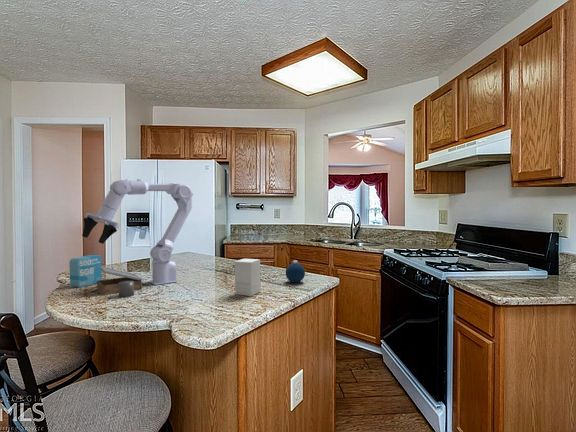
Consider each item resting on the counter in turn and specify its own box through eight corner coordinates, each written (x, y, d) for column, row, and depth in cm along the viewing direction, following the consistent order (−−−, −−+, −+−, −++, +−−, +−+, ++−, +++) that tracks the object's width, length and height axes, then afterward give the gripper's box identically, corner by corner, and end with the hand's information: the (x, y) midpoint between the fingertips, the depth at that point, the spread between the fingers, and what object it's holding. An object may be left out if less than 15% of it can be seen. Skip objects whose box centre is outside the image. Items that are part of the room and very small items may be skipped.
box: (133, 283, 144) (133, 276, 144) (141, 289, 135) (141, 280, 135) (96, 289, 136) (96, 280, 136) (102, 295, 126) (102, 286, 126)
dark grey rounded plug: (132, 293, 130) (131, 280, 130) (135, 295, 126) (135, 282, 125) (117, 295, 126) (117, 282, 126) (120, 298, 122) (120, 284, 122)
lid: (133, 275, 144) (134, 273, 145) (141, 280, 135) (142, 278, 135) (98, 268, 136) (99, 266, 136) (104, 273, 127) (105, 270, 127)
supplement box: (261, 291, 130) (261, 259, 130) (251, 296, 124) (251, 262, 123) (245, 289, 133) (244, 258, 133) (234, 294, 127) (234, 260, 126)
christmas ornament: (294, 279, 151) (294, 257, 151) (309, 282, 146) (309, 259, 145) (281, 282, 145) (281, 259, 145) (295, 285, 140) (295, 261, 139)
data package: (78, 288, 138) (77, 259, 137) (69, 287, 139) (69, 258, 139) (102, 281, 149) (101, 254, 149) (94, 281, 150) (93, 254, 150)
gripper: (87, 199, 131) (69, 231, 127) (118, 210, 128) (101, 243, 124) (98, 205, 137) (82, 236, 134) (128, 215, 134) (113, 247, 131)
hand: (92, 240), depth 130 cm, fingers open, 7 cm apart
